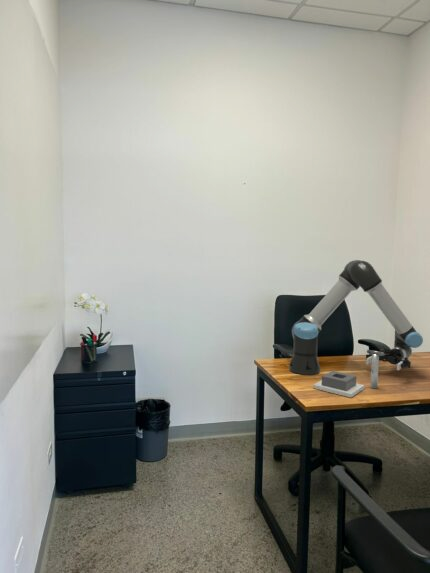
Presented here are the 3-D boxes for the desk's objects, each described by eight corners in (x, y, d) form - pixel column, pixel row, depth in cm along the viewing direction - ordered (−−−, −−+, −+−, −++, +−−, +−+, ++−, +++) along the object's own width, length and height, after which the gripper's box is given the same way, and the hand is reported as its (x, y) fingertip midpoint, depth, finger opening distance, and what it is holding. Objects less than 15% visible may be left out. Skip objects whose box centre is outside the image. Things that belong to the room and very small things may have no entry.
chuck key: (363, 386, 179) (365, 350, 178) (366, 384, 182) (368, 348, 180) (381, 390, 174) (383, 353, 173) (383, 388, 177) (385, 351, 175)
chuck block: (313, 388, 176) (313, 375, 175) (327, 380, 187) (328, 368, 187) (351, 397, 165) (351, 384, 164) (364, 388, 176) (365, 376, 176)
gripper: (423, 368, 193) (410, 378, 177) (370, 358, 209) (354, 367, 193) (423, 352, 192) (411, 361, 176) (371, 344, 208) (355, 351, 192)
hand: (382, 364), depth 184 cm, fingers open, 13 cm apart
